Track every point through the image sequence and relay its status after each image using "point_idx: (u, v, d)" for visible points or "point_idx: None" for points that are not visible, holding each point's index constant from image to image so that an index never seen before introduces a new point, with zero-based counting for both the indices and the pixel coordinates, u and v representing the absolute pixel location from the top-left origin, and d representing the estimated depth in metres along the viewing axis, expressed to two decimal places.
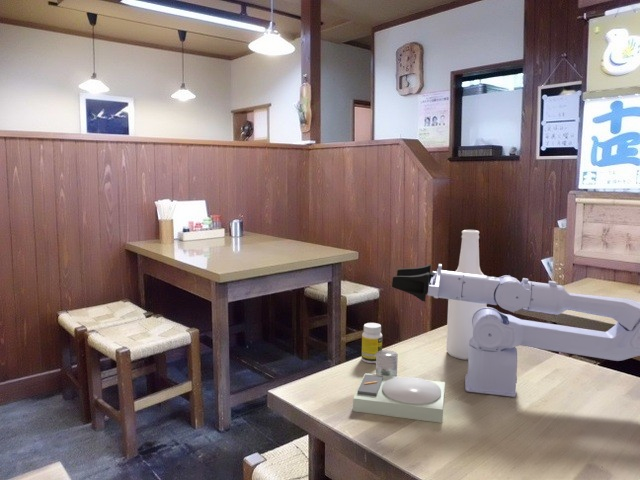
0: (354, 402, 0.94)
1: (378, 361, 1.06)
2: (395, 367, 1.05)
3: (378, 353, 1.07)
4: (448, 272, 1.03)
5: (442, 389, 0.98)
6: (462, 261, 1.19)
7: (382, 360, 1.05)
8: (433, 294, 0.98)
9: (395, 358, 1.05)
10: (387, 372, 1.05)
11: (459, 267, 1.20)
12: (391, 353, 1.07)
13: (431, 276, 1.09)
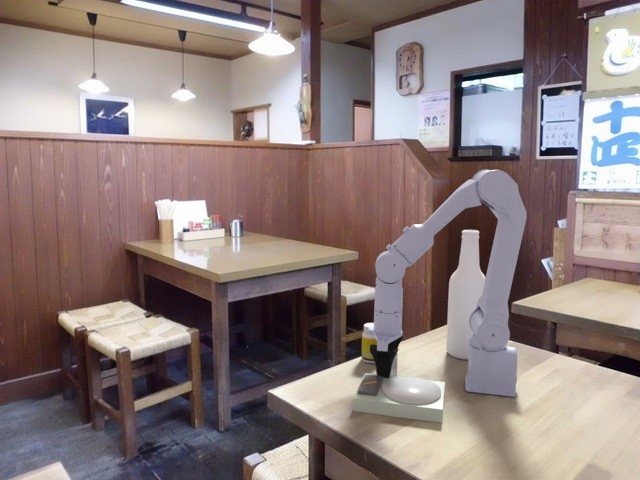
0: (354, 402, 0.94)
1: None
2: (395, 367, 1.05)
3: None
4: (374, 323, 1.06)
5: (442, 389, 0.98)
6: (462, 261, 1.19)
7: None
8: (385, 346, 0.99)
9: (395, 358, 1.05)
10: None
11: (459, 267, 1.20)
12: None
13: None
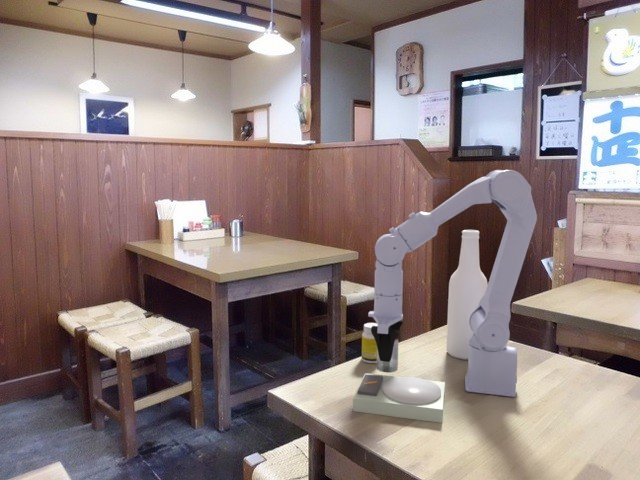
0: (354, 402, 0.94)
1: None
2: (396, 354, 1.05)
3: None
4: (374, 306, 1.05)
5: (442, 389, 0.98)
6: (462, 261, 1.19)
7: None
8: (385, 328, 0.98)
9: (396, 345, 1.05)
10: None
11: (459, 267, 1.20)
12: None
13: None
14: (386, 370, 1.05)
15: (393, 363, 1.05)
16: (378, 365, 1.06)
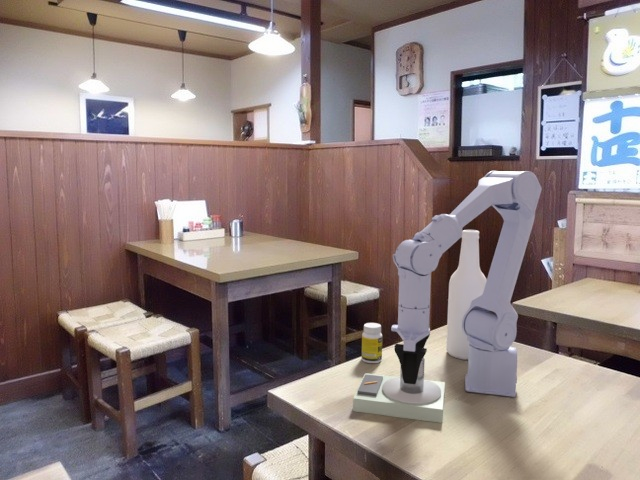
0: (354, 402, 0.94)
1: None
2: (422, 373, 0.95)
3: None
4: (398, 320, 0.95)
5: (442, 389, 0.98)
6: (462, 261, 1.19)
7: None
8: (412, 345, 0.88)
9: (422, 363, 0.95)
10: None
11: (459, 267, 1.20)
12: None
13: None
14: (411, 391, 0.95)
15: (419, 384, 0.95)
16: (402, 385, 0.96)
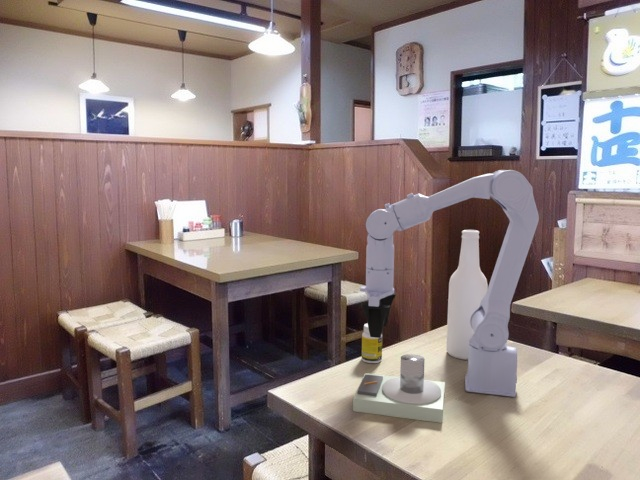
0: (354, 402, 0.94)
1: (403, 366, 0.95)
2: (422, 373, 0.95)
3: (403, 357, 0.96)
4: (366, 281, 1.06)
5: (442, 389, 0.98)
6: (462, 261, 1.19)
7: (408, 365, 0.94)
8: (376, 301, 0.99)
9: (422, 363, 0.95)
10: (413, 379, 0.94)
11: (459, 267, 1.20)
12: (417, 357, 0.96)
13: None
14: (411, 391, 0.95)
15: (419, 384, 0.95)
16: (402, 385, 0.96)
